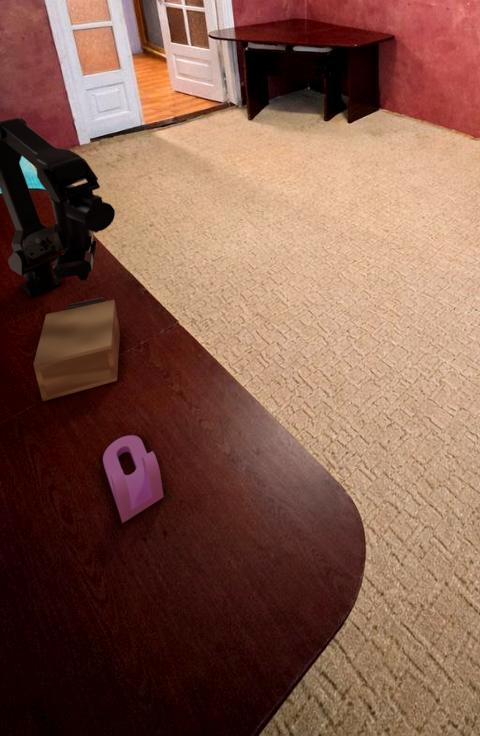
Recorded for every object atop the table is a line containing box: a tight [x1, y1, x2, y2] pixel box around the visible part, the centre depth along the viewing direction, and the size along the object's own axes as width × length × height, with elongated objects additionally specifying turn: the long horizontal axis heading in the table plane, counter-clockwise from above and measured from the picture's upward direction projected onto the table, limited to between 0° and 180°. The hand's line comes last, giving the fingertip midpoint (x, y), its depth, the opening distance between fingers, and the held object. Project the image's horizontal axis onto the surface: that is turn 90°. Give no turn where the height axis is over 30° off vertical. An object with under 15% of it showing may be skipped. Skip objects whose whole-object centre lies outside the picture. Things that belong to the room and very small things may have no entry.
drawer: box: [66, 296, 105, 310], centre depth 96 cm, size 17×10×7 cm, turn 27°
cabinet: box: [33, 299, 121, 402], centre depth 93 cm, size 14×12×9 cm
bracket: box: [102, 434, 165, 524], centre depth 74 cm, size 13×6×7 cm, turn 42°
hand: (84, 279), depth 103 cm, fingers closed
